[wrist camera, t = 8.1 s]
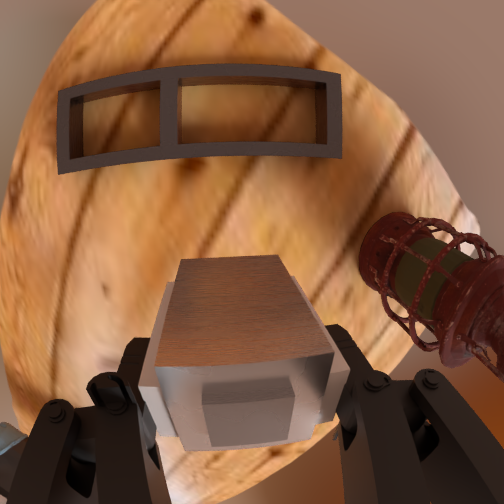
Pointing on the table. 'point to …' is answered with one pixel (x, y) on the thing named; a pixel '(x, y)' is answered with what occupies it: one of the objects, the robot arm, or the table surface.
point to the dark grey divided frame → (171, 105)
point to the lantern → (438, 286)
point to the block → (241, 355)
